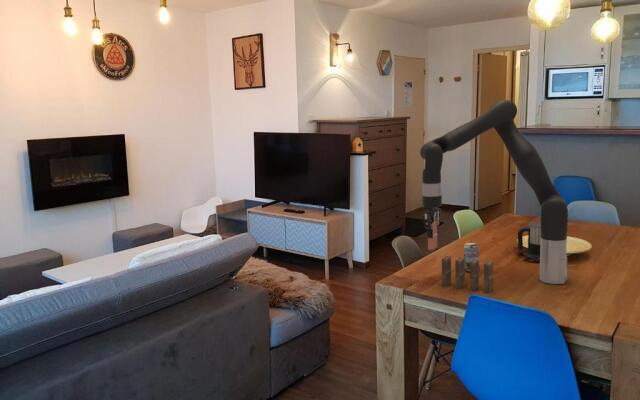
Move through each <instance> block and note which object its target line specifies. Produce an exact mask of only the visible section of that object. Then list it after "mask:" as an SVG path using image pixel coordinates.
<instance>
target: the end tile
mask: <svg viewBox="0 0 640 400" xmlns="http://www.w3.org/2000/svg"><path fill="white" fill-rule="evenodd" d="M431 221H432V220H431ZM428 225H429V223H428ZM436 248H438V235H437V220H435V223H434V224H433V238H428V237H427V250H431V251H432V250H435V249H436Z"/></svg>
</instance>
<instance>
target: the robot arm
mask: <svg viewBox="0 0 640 400" xmlns="http://www.w3.org/2000/svg"><path fill="white" fill-rule="evenodd" d="M517 114H518V107H517V105H516V104H515V102H514V101H513V100H510V99H501V100H498V101H496V102H495V103H494V104H492V105H491V106H490V107H489V109H488V110H487V111H485V112H484V113H483V114H481V115H479V116H477V117H475V118H474V119H472V120H470V121H468V122H466V123H464V124H461V125H459V126H458V127H456V128H454V129H452V130H450V131H448V132H447V133H445V134H444V135H442V136H439V137H436V138H434V139H432V140H430V141H428V142H426V143H425V144H423V145H422V146H421V148H420V151H419V154H420V157H421V158H422V159H423V160H424V161H425V162H424V163H425V164H424V168H423V171H422V187H421V189H422V191H421V192H422V193H421V196H422V197H421V198H422V199H421V202H422V203H421V204H422V207H424V208H426V209H425V210H426V211H425V213H423V214H422V221H423V228H424V229H426V238H427V239H428V238H433V224H434V223H435V220H437V236H438V235H439V225H440V223H441V219H442V218H441V217H442V208H440V207H442V206H443V191H442V189H443V187H442V174H441V173H442V172H441V171H442V166H443V158H444V154H445V153H447V152H452V151H455V150H457V149H458V148H460V147H462V146H464V145H466V144H467V143H469V142H470V141H472V140H474V139H475V138H477V137H478V136H480V135H482V134H483V133H485V132H487V131H489V130H490V129H491V130H492V129H494V130H495V132H496V134H497V135H498V136H499V137H500V139H501V141H502V142H503V145H504V146H505V148H506V151H507V152H508V153H509V155H510V157H511V159H512V162H513V163H514V165H515V167H516V169H517V170H518V172H519V173H520V175H521V177H522V178H523V180H525V181H526V183H527V184H528V185H529V187H530V188H531V190H532V191H533V193H534V194H535V196H536V198H537V201H538V203H539V206H540V223H541V246H540V261H539V281H541V282H542V283H546V284H550V285H565V283H566V281H567V277H568V276H567V273H568V256H567V241H568V240H567V238H568V221H569V209H568V204H567V202H566V201H565V199H564V198H563V196H561V194H560V193H559V191H558V189H556V187H555V185H554V184H553V182H552V180H551V178H550V175H549V173H548V170H547V167H546V166H545V164H544V162H543V160H542V158H541V156H540V154H539V152H538V151H537V148H535V146H534V145H533V144H532V143H531V142H530V141H529V140H528V139H527V138H526V137H525V136H524V135H523V134H522V133H521V132H520V130H519V129H518V128H517V125H516V123H515V122H514V119H515V118H516V116H517ZM431 220H432V221H431ZM428 223H429V225H428Z"/></svg>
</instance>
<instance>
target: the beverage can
mask: <svg viewBox="0 0 640 400" xmlns="http://www.w3.org/2000/svg"><path fill="white" fill-rule="evenodd" d="M479 253H480V252H479V245H478V244H477V242H469V243H468V242H466V243H464V246H463V258H465V271H468V272H470V262H471V261H472V260H473V259H479V260H480V254H479ZM479 270H480V265H479Z"/></svg>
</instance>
